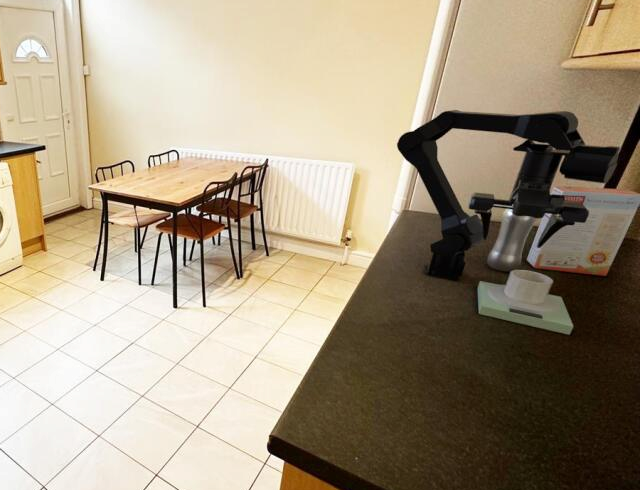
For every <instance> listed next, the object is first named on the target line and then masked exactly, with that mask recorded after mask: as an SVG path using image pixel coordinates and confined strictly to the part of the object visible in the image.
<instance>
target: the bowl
mask: <svg viewBox="0 0 640 490" xmlns="http://www.w3.org/2000/svg"><path fill="white" fill-rule="evenodd" d="M553 284H554V279H553V278H551V277H549V276H548V275H546V274H543V273H541V272H537V271H533V270H527V269H516V270H513V271H510V272H509V275H508V277H507V280H506V283H505V284H504V285H505V288H504V292H505V295H506V296H508V297H509V298H511V299H513V300H516V301H519V302H523V303H528V304H540V303H542V302H544V301H545V300H546V297H547V295H548V294H549V292H550V290H551V288H552V285H553Z"/></svg>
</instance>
